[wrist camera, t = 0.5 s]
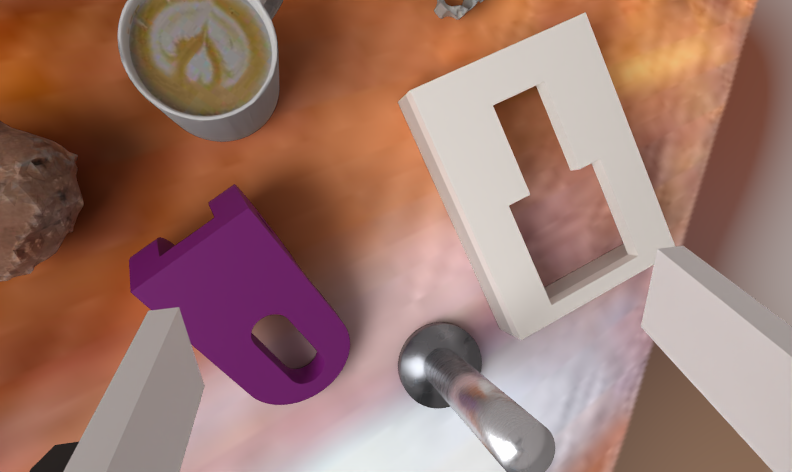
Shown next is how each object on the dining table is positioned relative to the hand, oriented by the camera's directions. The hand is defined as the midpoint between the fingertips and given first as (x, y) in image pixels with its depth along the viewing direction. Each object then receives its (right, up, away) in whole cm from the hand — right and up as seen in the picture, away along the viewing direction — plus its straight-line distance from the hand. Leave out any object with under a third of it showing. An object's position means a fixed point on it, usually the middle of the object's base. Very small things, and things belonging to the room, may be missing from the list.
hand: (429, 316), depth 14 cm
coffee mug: (-15, +16, +29) cm, 36 cm away
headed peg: (+3, -10, +34) cm, 35 cm away
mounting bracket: (-13, -4, +30) cm, 33 cm away
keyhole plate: (+12, +8, +35) cm, 38 cm away
